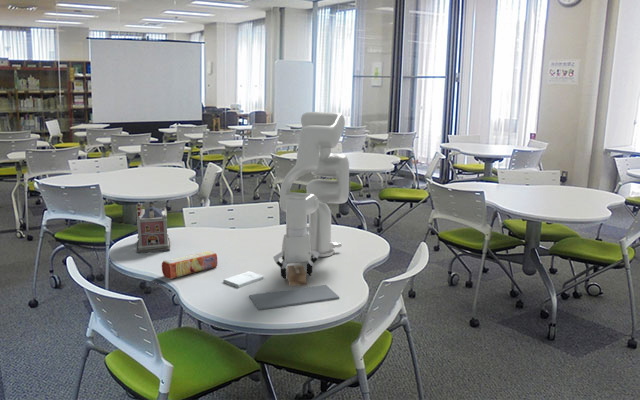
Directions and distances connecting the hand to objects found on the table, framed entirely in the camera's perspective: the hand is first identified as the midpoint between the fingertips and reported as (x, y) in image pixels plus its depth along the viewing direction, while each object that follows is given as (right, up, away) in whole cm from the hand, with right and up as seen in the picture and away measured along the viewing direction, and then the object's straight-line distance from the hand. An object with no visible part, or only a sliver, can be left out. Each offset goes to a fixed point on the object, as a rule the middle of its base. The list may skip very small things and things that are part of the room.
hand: (296, 276), depth 202 cm
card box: (0, -2, 0) cm, 2 cm away
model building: (-64, +8, +40) cm, 76 cm away
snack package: (-41, 0, +9) cm, 42 cm away
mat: (0, -5, -15) cm, 16 cm away
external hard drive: (-19, -2, 0) cm, 19 cm away
